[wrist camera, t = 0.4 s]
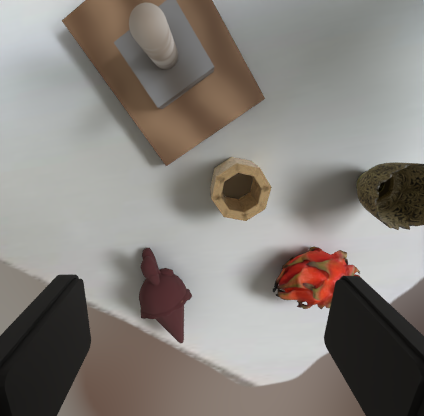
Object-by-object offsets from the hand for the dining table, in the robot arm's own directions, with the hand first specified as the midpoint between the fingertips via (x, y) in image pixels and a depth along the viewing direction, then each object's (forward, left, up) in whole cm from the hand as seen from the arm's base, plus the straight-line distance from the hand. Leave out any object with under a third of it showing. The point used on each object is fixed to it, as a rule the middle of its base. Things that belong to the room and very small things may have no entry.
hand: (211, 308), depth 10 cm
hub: (-3, +3, -26) cm, 26 cm away
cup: (-18, +13, -26) cm, 34 cm away
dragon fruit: (-5, +20, -26) cm, 33 cm away
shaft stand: (-4, -13, -26) cm, 29 cm away
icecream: (+14, +11, -26) cm, 32 cm away
